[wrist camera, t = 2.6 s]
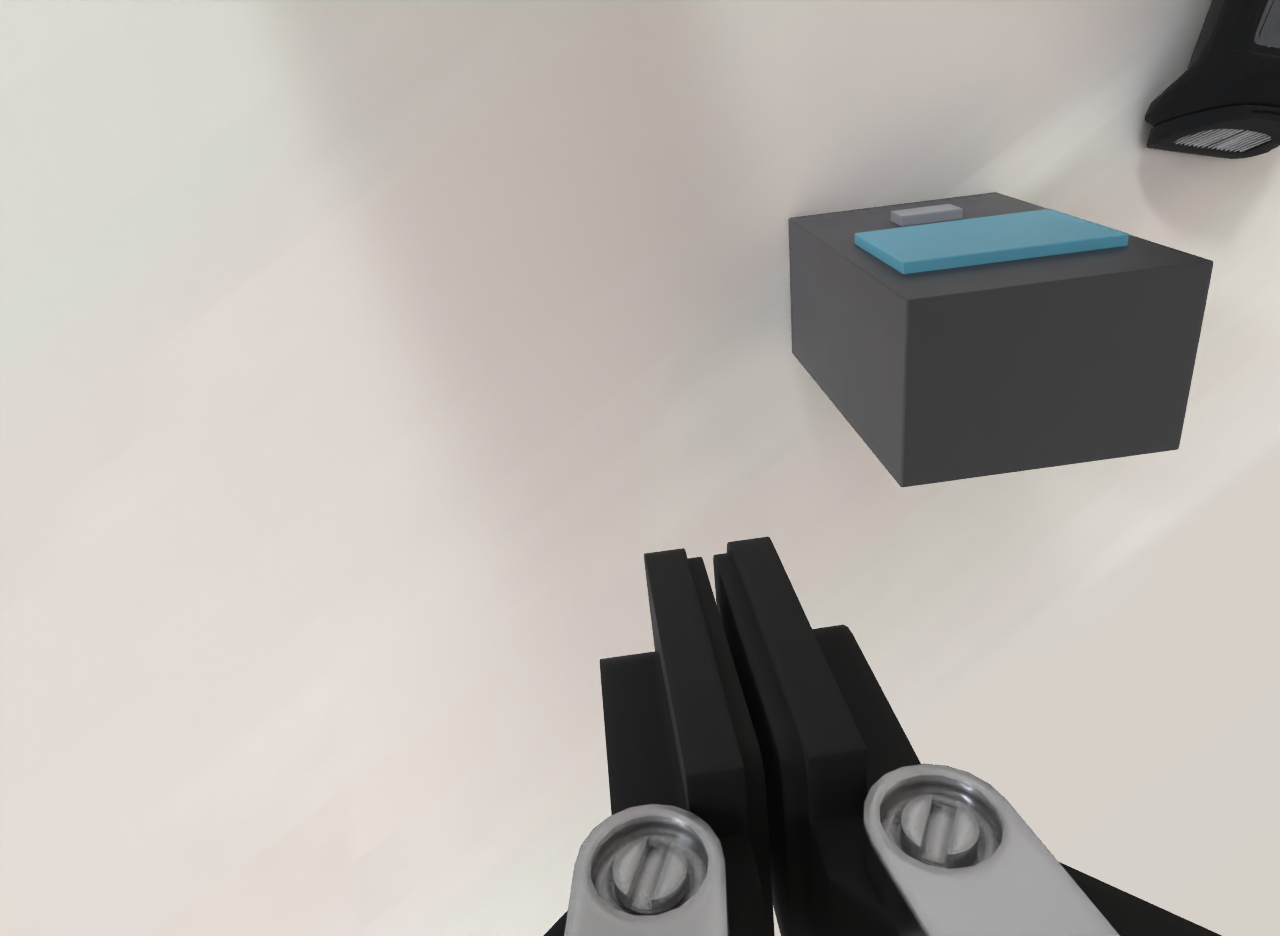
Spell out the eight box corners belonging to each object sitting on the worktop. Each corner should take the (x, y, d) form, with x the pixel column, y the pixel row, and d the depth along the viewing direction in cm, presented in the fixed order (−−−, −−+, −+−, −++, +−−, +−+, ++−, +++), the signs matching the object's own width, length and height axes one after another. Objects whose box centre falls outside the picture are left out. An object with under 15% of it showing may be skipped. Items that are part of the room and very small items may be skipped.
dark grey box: (787, 208, 24) (907, 287, 16) (997, 182, 25) (1217, 247, 16) (791, 353, 26) (901, 488, 18) (986, 328, 26) (1179, 449, 18)
